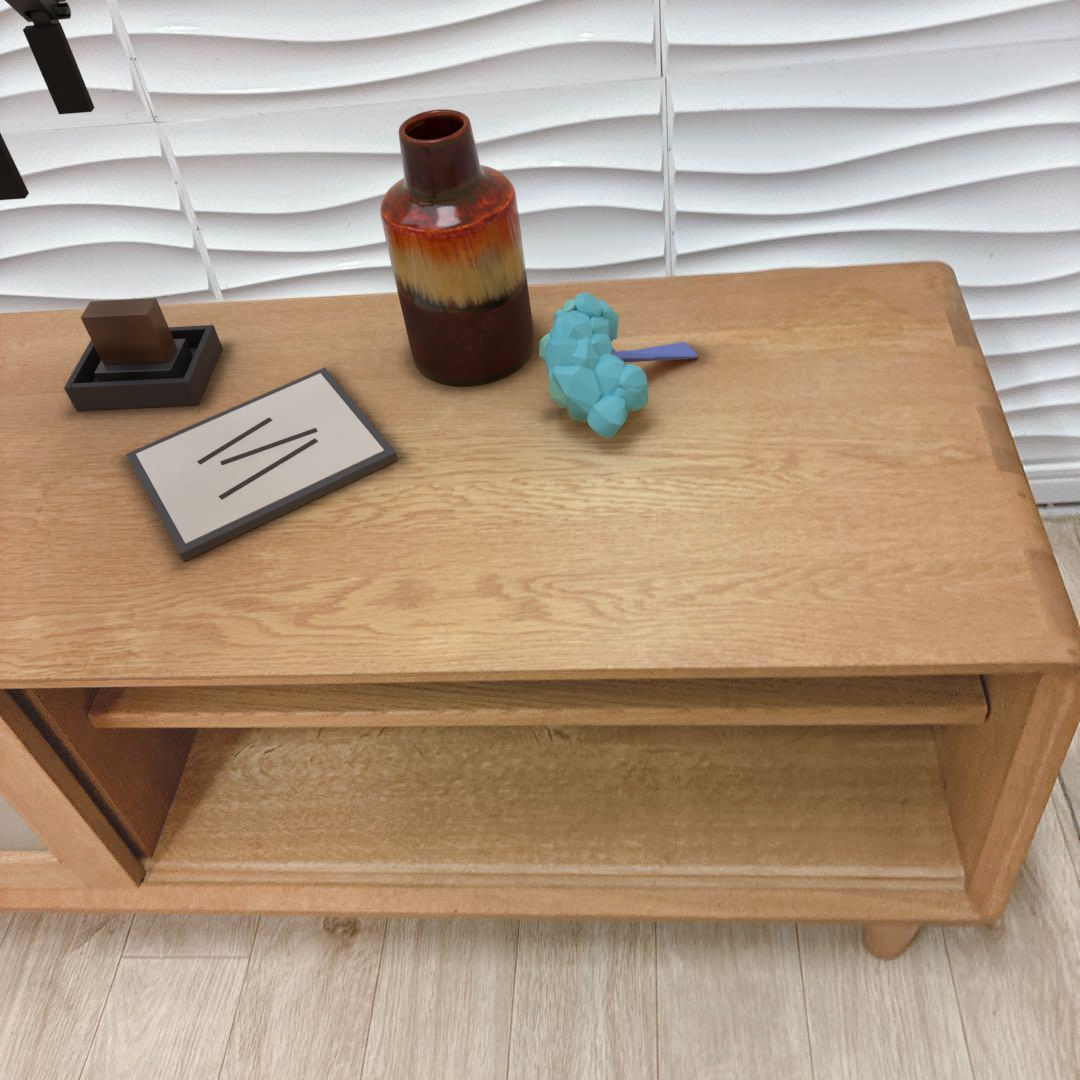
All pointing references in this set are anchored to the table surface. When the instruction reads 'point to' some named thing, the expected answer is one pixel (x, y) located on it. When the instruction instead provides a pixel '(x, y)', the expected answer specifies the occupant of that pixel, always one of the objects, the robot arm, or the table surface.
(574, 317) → the light blue toy tree
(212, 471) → the whiteboard
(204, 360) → the tray
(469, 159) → the vase
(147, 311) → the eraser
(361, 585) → the table surface
